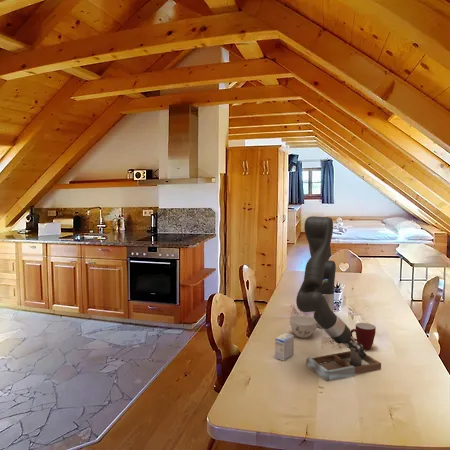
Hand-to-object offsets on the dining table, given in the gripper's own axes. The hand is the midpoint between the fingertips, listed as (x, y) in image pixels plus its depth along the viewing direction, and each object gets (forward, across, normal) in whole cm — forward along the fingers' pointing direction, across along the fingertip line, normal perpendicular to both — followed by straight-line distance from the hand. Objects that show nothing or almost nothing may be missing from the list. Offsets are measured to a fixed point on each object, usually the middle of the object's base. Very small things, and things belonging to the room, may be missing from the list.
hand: (360, 353), depth 152 cm
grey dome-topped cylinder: (+2, 0, +4) cm, 5 cm away
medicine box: (-15, +16, +21) cm, 30 cm away
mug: (+11, +12, -5) cm, 17 cm away
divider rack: (-3, 0, +8) cm, 9 cm away
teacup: (0, +33, +7) cm, 34 cm away
